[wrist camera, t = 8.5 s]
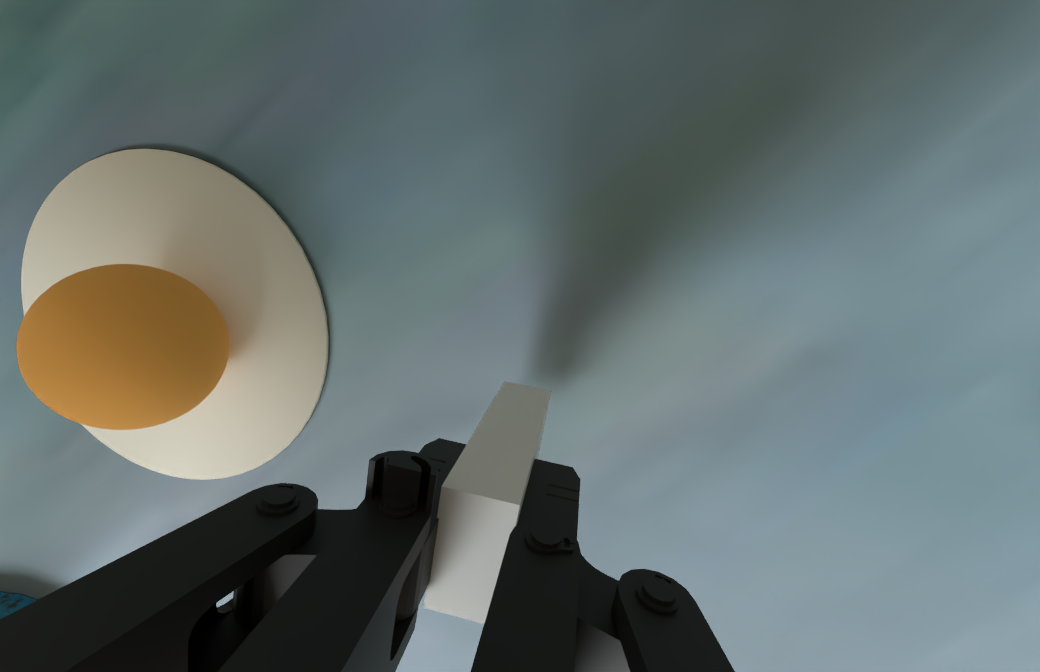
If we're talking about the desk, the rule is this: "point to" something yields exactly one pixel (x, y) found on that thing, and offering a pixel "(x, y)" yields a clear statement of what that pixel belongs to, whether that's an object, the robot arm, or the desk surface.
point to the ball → (122, 346)
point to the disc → (220, 275)
